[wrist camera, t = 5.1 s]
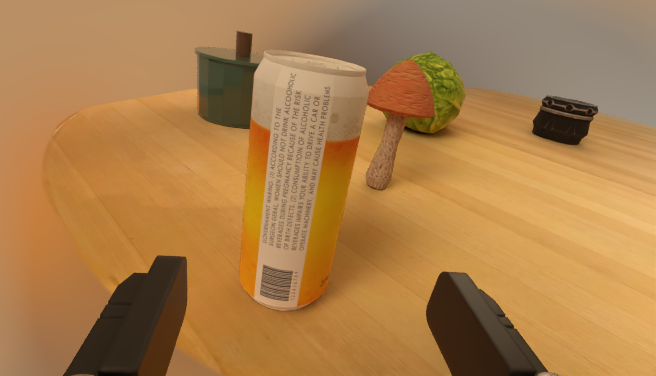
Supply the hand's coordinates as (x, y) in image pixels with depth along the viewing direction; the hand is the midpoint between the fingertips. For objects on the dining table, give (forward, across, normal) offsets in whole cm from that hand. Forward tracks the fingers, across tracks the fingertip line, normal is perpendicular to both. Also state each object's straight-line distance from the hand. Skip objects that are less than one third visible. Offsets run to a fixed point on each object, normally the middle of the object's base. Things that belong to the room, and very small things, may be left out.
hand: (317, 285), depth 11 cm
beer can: (+10, 0, +10) cm, 14 cm away
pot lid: (+52, +7, 0) cm, 52 cm away
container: (+71, -72, +10) cm, 102 cm away
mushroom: (+29, -12, +10) cm, 33 cm away
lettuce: (+60, -30, +10) cm, 68 cm away
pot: (+52, +7, +9) cm, 53 cm away
